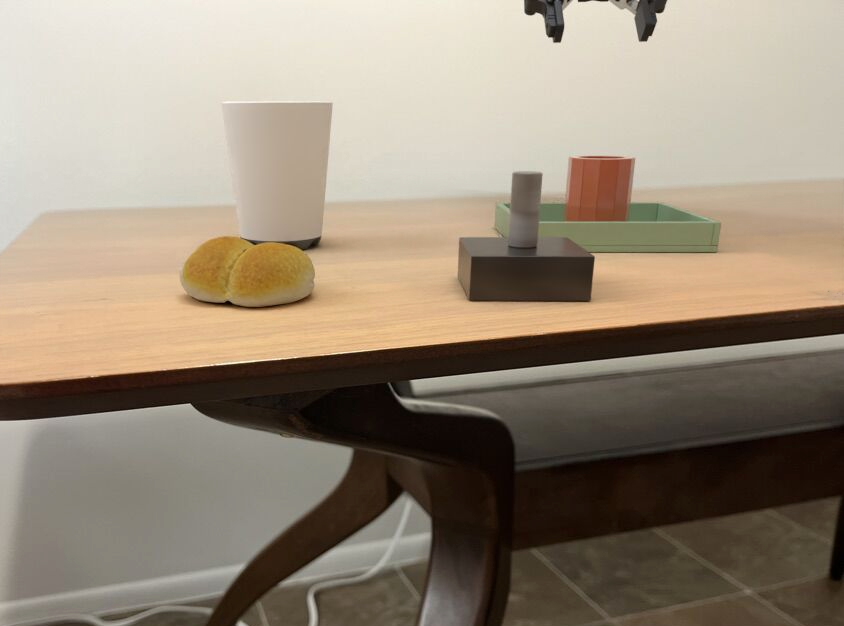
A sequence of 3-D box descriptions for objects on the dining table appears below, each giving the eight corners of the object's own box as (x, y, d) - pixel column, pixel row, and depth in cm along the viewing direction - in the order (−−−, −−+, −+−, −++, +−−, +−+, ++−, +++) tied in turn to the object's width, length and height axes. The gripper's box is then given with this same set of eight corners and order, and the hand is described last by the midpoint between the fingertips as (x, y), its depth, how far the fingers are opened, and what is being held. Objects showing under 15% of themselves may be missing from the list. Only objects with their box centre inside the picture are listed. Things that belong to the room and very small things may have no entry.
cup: (270, 258, 69) (265, 100, 65) (207, 244, 76) (199, 101, 72) (355, 245, 76) (356, 100, 71) (290, 233, 83) (287, 101, 78)
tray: (659, 227, 85) (662, 202, 84) (717, 252, 71) (721, 222, 70) (494, 227, 86) (495, 202, 85) (518, 252, 72) (520, 222, 71)
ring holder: (564, 277, 61) (573, 167, 59) (590, 301, 54) (603, 177, 51) (457, 276, 62) (462, 168, 59) (469, 300, 54) (475, 177, 51)
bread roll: (287, 313, 51) (285, 250, 50) (164, 302, 54) (160, 242, 53) (335, 287, 58) (334, 231, 57) (225, 278, 61) (222, 225, 60)
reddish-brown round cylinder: (616, 228, 81) (624, 155, 79) (634, 237, 75) (642, 159, 73) (557, 227, 81) (563, 155, 79) (570, 237, 76) (577, 159, 73)
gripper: (523, -103, 85) (537, 4, 78) (662, -106, 84) (688, 1, 77) (512, -38, 92) (524, 66, 84) (641, -41, 91) (663, 64, 84)
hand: (602, 35), depth 81 cm, fingers open, 8 cm apart
